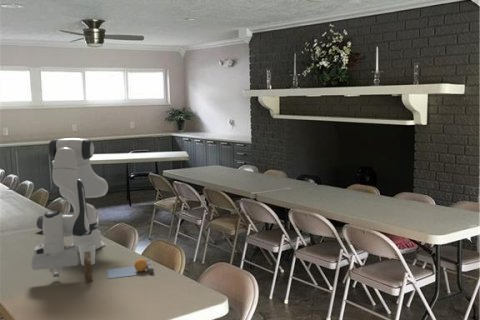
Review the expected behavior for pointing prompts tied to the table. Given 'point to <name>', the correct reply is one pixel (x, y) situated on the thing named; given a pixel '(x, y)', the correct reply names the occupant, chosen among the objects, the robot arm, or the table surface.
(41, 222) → the bluetooth speaker
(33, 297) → the table surface
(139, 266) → the ball
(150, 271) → the grey rectangular bar
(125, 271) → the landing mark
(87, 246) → the white cup
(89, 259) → the bridge
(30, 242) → the table surface
